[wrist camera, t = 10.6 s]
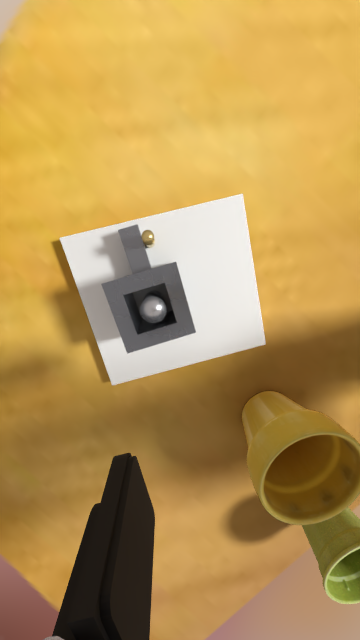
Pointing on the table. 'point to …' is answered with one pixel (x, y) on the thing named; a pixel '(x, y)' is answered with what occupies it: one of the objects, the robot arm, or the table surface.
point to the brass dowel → (148, 238)
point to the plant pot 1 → (299, 460)
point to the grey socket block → (143, 276)
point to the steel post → (153, 307)
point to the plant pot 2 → (338, 555)
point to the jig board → (197, 278)
